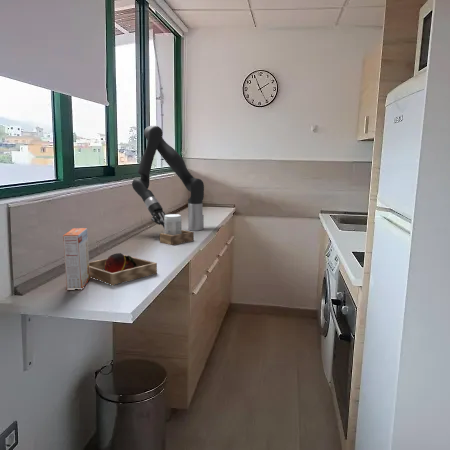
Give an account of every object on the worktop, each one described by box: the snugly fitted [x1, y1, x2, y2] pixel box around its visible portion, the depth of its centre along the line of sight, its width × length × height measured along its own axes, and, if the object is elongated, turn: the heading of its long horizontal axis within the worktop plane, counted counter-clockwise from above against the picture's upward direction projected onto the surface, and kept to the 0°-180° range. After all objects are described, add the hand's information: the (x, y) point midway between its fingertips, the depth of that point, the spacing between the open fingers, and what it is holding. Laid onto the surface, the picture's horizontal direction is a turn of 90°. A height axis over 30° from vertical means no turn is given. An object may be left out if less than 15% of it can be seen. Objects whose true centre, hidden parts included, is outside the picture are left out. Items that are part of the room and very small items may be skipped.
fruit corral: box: [89, 254, 158, 286], centre depth 180 cm, size 22×22×4 cm
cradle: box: [159, 229, 195, 246], centre depth 245 cm, size 16×10×5 cm, turn 139°
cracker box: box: [62, 227, 91, 289], centre depth 164 cm, size 14×6×21 cm, turn 5°
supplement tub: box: [164, 213, 183, 235], centre depth 245 cm, size 10×10×15 cm
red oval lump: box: [104, 252, 137, 273], centre depth 181 cm, size 12×12×15 cm
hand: (167, 229), depth 249 cm, fingers closed
